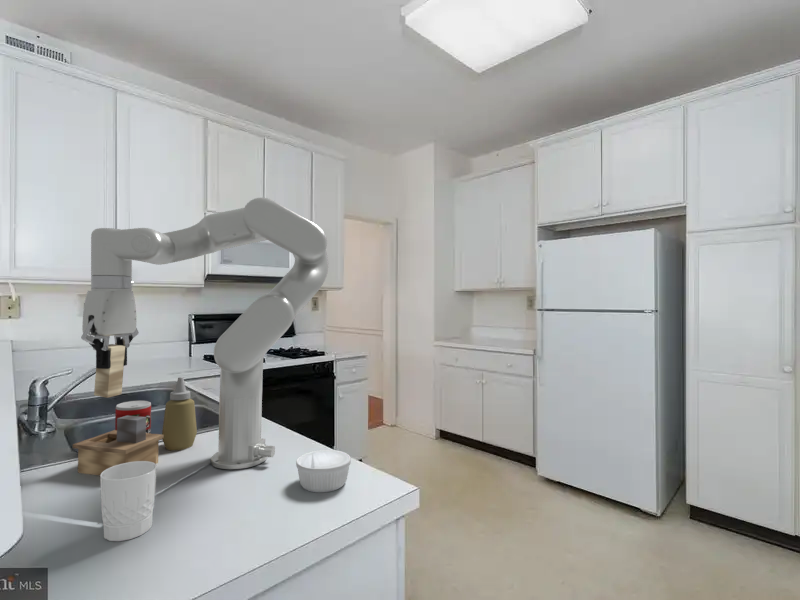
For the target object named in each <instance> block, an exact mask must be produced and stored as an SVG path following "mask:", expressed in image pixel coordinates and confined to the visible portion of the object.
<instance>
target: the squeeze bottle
mask: <svg viewBox="0 0 800 600" xmlns="http://www.w3.org/2000/svg"><path fill="white" fill-rule="evenodd" d="M195 405H196V403H195V400H193V399H192V398H191V391H190V390H187V387H186V384H185V380H184V377H183V376H181V377H178V378H177V382H176V385H175V389H174V391H171V392H170V393H169V400H168V401H166V403H165V407H164V408H165V409H164V415H163V421H162V422H163V425H162V430H161V435H164V438H163V439H162V443H163V444H164V447H165V449H166V450H168V451H174V452H175V451H181V450H183V451H184V450H187V449H190V448H191V447H193V445H194V443H195V439H196V437H197V433H198V429H197V418H196V406H195Z"/></svg>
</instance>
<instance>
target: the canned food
mask: <svg viewBox="0 0 800 600" xmlns="http://www.w3.org/2000/svg"><path fill="white" fill-rule="evenodd" d="M114 414H115V416H114V417H115V418H114V419H115V420H114V426H115V428H114V430H117V418H120V417H124V416H127V415H128V416H139V417H146V433H151V432H152V430H151V429H152V425H151V424H152V402H151V401H148V400H129V401H123V402H121V403H118V404H116V405H115V412H114ZM151 434H152V433H151Z"/></svg>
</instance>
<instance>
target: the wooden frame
mask: <svg viewBox="0 0 800 600" xmlns="http://www.w3.org/2000/svg"><path fill="white" fill-rule="evenodd" d="M108 437H112V438H117V440H115V441H112V442H109V443H103V442H97V441H100V440H102V439H105V438H108ZM163 438H164V435H162V433H161V434H159V433H146V417H139V416H128V415H127V416H124V417H120V418H117V430H115V429H113V430H111V431H108V432H105V433H102V434H99V435H96V436H93V437H89V438H87V439H85V440H81V441H79V442H75V443H73V444H72V449H85V450H94V451H103V452H112V453H122V454H127V453H129V452H132V451H134V450H136V449H139V448H141V447H144V446H146V445H148V444H151V443H153V442H156V441H158V440H159V441H160V440H163Z"/></svg>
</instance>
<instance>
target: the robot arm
mask: <svg viewBox="0 0 800 600" xmlns="http://www.w3.org/2000/svg"><path fill="white" fill-rule="evenodd" d="M90 236H91V237H90V290H87V292H86V296H85V300H84V303H83V304H84V305H83V311H82V328H81V329H82V334H81V340H82V341H85V342H86V343H88V344H89V345H90V346H91V347H92V350H93V351H95V369H96V368H98V369H109V368H110V367H111V360H110V350H108V345H109V344H110V339H111V336H112V337H114V345H121V346H125V356H124V367H125V366H127V365H128V348H129V347H130V344H131V342H132V341H133V339H134V338H136V336H138V335H139V330H138V328H137V307H136V300H135V294H134V291H133V290H132V289H133V287H132V286H133V285H134V281H133V280H132V279H133V277H132V276H133V273H132V272H133V267H132V266H133V265H132V261H136V262H143V263H146V264H147V263H149V264H152V265H156V266H157V265H160V266H161V265H168V264H172V263H177V262H182V261H185V260H190V259H195V258H198V257H202V256H205V255H209V254H214V253H215V252H218V251H223V250H229V249H231V248H237V247H241V246H247V245H250V244H251V245H252V244H254V243H259V242H264V241H268V242H271V243H273V244H275V245H276V246H278V247H280V248H282V249H283V250H285V251H288V252H289V253H291V254H292V256H293V257H294V262H293V266H292V267H291V269H290V270H289V271H288V272H286V274H285V275H284V276H282V278H281V279H280V280H279V282H277V284H276V285H275V286H274V287H273V288H272V289H271V290H270V291H269V292H268V293H266V294H262V295H261V296H259V297H257V298H256V299H255V300H254V301H253V302H252V303H251V304H250V305H249V306H248V307H247V308H246V309H245V310H244V311H243V313H241V315H239V317H238V318H237V319H236V320H235V321H234V322H233V323H232V324H231V325H230V326H229V327H228V328H227V329H226V330H225V331H224V332H223V333H222V334H221V335H220V336H219V337H218V339H217V341H216V342H215V344H214V348H213V358H214V361H215V363H216V364H217V366H218V367H219V368H220V372H219V373H220V376H219V377H220V378H219V397H218V398H219V400H218V401H219V402H218V403H219V404H218V405H219V406H218V450H217V452H215V453H214V454H212V456H211V457H210V463H211V464H210V465H212V466H213V467H215V468H218V469H222V470H242V469H247V468H248V469H249V468H251V467H255V466H258V465H260V464H262V463H263V462H265V461H266V460H267V459H268V458H274V457H275V453H276V447H275V445H267V444H266V438H262V415H263V413H262V411H263V407H262V406H263V404H262V403H263V401H262V400H263V379H264V378H263V375H264V374H263V373H264V372H263V371H264V356H265V354H267V353H268V351H269V350H270V349H272V347H273V346H274V345H275V344H276V343H277V342H278V341H279V340H280V338H281V337H282V336H284V335H285V333H286V332H287V331H288V330H289V329H290V327H291V326H292V325H293V321H294V319H295V318H296V316H298V315H299V313H300V312H301V311H302V310H303V309H304V308H305V307H306V305H308V303H309V302H310V301H311V300H312V299H313V298H314V296H315V295H317V293H318V292H319V290H320V289H321V288H322V287H323V285H324V282H325V281H326V278H327V275H328V270H329V256H328V253H327V247H328V240H327V236H326V233H325V232H324V230H323V228H321V227H320V226H319V225H317V224H316V223H314V222H313V221H311V220H309V219H307V218H306V217H303V216H302V215H300V214H298V213H297V212H294V211H293V210H291V209H289V208H287V207H285V206H284V205H282V204H280V203H279V202H277V201H275V200H273V199H270V198H268V197H256V198H252V199H251V200H249V201H248V202H247V203H246V204H245V206H244V207H241V208H237V209H231V210H225V211H221V212H215V213H210V214H208V215H206V216H204V217H203V218H202V219H201V220H200V221H198V222H197V223H196V224H194V225H192V226H189V227H187V228H183V229H178V230H172V231H168V232H167V231H166V232H159V231H157V230H155V229H152V228H149V227H137V228H136V227H135V228H125V229H121V228H112V227H111V228H110V227H98V228H95V229H93V230H92V232H91V235H90Z"/></svg>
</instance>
